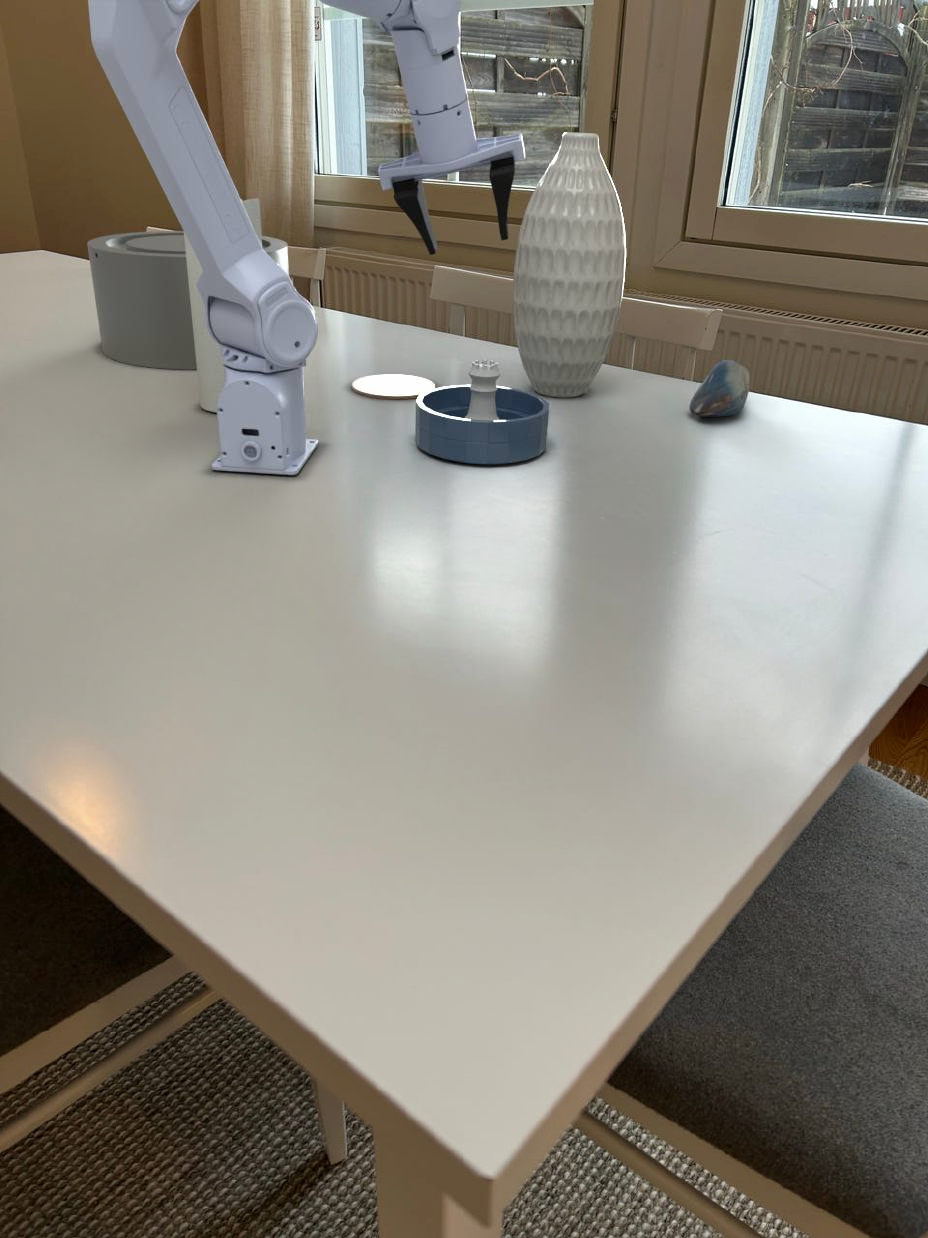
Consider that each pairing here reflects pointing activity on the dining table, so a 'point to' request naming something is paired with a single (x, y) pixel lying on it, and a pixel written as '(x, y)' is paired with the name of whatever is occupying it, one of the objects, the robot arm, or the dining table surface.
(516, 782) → the dining table surface
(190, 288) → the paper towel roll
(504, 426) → the bowl
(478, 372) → the rook chess piece
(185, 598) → the dining table surface
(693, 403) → the seashell
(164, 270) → the container
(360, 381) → the coaster
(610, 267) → the vase
